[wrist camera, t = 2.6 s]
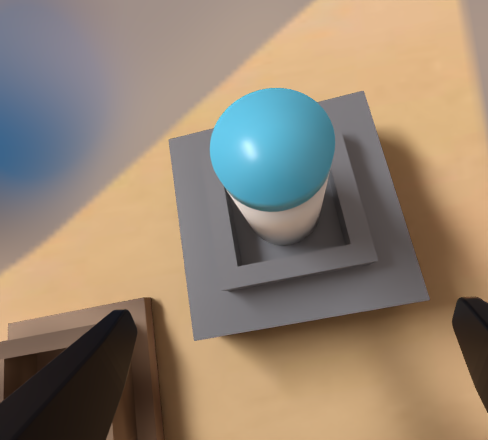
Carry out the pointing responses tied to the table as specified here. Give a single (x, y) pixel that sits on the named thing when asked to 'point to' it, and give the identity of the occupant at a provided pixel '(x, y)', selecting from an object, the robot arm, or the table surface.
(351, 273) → the upper dock
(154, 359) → the low dock
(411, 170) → the table surface
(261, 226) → the plug
